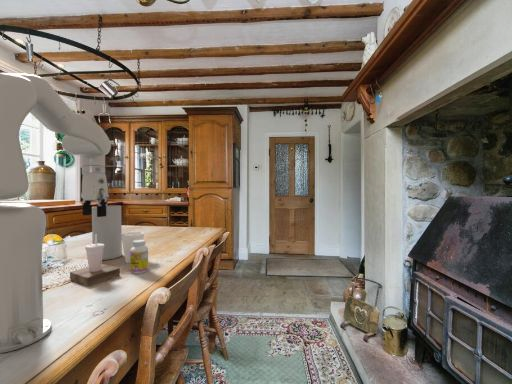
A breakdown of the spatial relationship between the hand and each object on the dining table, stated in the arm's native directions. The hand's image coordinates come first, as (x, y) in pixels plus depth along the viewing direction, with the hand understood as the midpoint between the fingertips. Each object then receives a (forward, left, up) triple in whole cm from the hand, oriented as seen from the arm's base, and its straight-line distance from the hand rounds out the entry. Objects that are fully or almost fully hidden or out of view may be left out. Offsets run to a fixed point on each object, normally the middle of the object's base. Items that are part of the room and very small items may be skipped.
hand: (94, 215), depth 99 cm
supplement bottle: (-8, -13, -24) cm, 29 cm away
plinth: (0, 0, -24) cm, 24 cm away
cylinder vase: (+24, -19, -24) cm, 39 cm away
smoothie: (0, 0, -21) cm, 21 cm away
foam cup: (+7, -21, -24) cm, 33 cm away
